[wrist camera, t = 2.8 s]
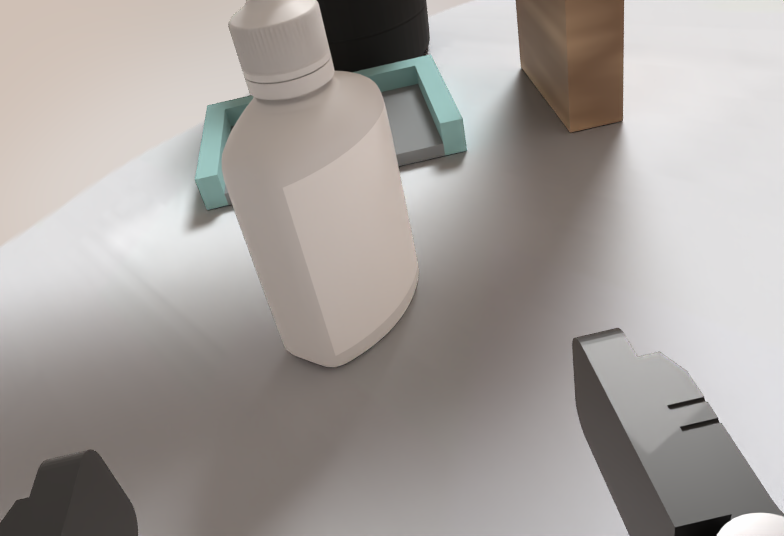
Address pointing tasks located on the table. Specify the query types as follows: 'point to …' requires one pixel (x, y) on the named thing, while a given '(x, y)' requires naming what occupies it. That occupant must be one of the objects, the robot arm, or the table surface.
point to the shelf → (575, 57)
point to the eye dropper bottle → (317, 187)
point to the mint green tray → (404, 109)
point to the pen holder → (374, 31)
